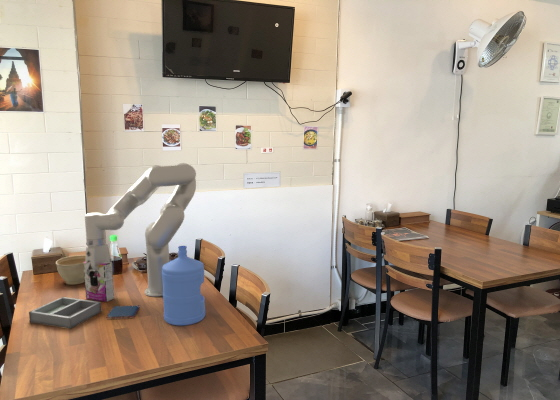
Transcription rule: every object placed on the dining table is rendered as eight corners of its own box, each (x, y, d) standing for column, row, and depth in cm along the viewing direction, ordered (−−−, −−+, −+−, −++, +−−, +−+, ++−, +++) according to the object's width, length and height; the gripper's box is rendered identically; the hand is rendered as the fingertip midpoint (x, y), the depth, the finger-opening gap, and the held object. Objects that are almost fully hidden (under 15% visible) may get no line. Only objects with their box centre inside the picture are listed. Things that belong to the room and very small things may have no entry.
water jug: (179, 330, 152) (176, 254, 148) (155, 318, 163) (152, 247, 159) (213, 317, 164) (212, 246, 160) (189, 306, 174) (187, 239, 170)
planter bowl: (60, 278, 210) (59, 256, 208) (96, 274, 214) (94, 254, 213) (54, 289, 194) (52, 266, 193) (92, 285, 199) (91, 262, 198)
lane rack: (101, 311, 169) (100, 302, 168) (70, 328, 154) (69, 318, 153) (63, 306, 175) (62, 296, 174) (29, 322, 160) (28, 311, 159)
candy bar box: (85, 299, 182) (82, 262, 179) (93, 295, 186) (91, 259, 184) (106, 302, 178) (104, 264, 176) (114, 298, 183) (112, 261, 180)
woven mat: (113, 310, 172) (112, 305, 171) (140, 309, 173) (140, 304, 172) (105, 321, 161) (104, 316, 161) (134, 320, 162) (133, 314, 162)
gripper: (88, 247, 169) (91, 291, 172) (117, 238, 186) (119, 278, 188) (73, 246, 172) (76, 289, 174) (103, 236, 188) (105, 276, 190)
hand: (99, 283), depth 181 cm, fingers closed on candy bar box, 5 cm apart
